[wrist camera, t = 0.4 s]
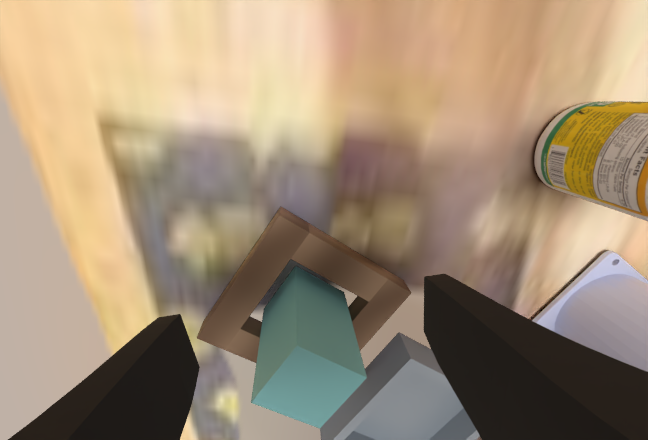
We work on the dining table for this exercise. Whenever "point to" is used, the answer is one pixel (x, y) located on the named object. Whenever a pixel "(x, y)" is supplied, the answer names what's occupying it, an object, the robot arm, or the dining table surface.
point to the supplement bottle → (598, 155)
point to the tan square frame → (315, 254)
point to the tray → (401, 400)
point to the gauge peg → (307, 351)
